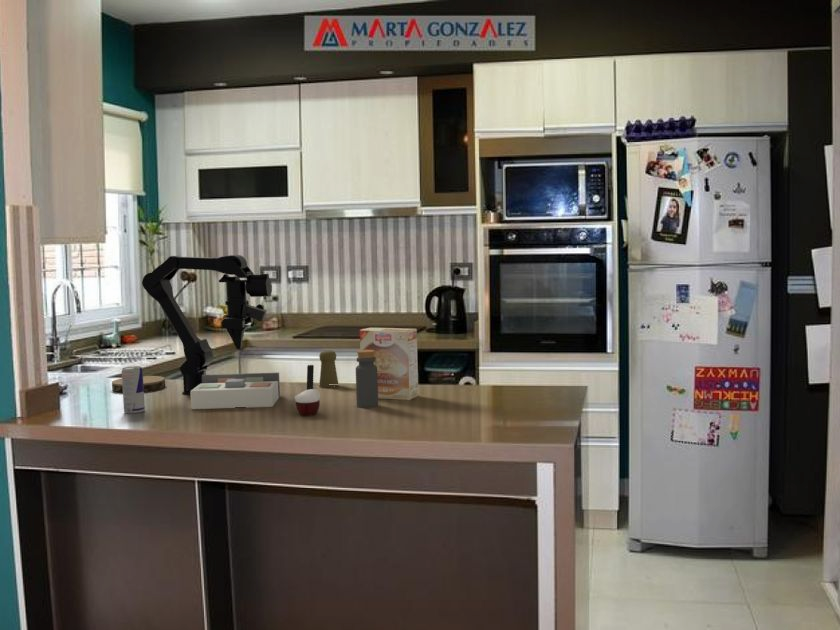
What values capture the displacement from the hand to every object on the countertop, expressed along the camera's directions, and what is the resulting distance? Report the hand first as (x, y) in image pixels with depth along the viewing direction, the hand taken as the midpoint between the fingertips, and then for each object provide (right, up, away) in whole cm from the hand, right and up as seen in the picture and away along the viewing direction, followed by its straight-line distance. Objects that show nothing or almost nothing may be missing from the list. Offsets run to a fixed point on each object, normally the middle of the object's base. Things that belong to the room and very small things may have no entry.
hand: (238, 349), depth 250 cm
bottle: (+40, -15, -25) cm, 49 cm away
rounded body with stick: (+25, -16, -33) cm, 44 cm away
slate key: (+3, -12, -17) cm, 21 cm away
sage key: (-4, -13, -17) cm, 22 cm away
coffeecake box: (+46, -13, -12) cm, 49 cm away
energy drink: (-23, -16, -24) cm, 37 cm away
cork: (+26, -12, +8) cm, 30 cm away
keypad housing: (+3, -14, -15) cm, 21 cm away
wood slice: (-34, -13, +12) cm, 38 cm away
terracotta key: (+10, -13, -17) cm, 23 cm away
